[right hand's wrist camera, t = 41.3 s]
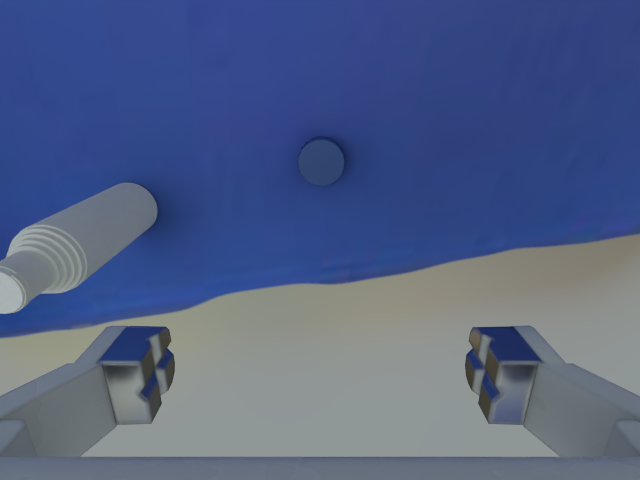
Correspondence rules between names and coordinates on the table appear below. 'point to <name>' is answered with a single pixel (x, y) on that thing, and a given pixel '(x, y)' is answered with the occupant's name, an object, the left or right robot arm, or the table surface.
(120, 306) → the table surface
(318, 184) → the cap
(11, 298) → the bottle
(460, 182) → the table surface
